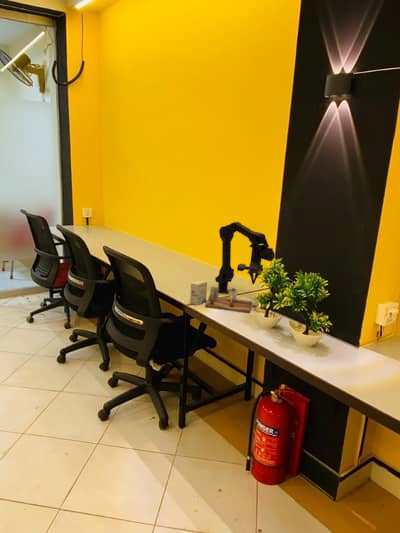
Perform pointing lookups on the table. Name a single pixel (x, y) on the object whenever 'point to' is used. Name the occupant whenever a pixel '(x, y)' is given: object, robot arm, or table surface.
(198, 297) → the ink box
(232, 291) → the gauge slider
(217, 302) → the hole board
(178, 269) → the table surface
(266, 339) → the table surface
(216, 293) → the gauge fixed leg
